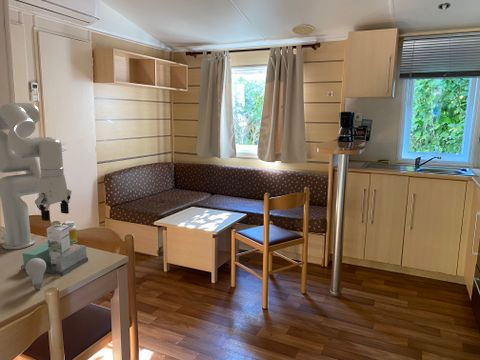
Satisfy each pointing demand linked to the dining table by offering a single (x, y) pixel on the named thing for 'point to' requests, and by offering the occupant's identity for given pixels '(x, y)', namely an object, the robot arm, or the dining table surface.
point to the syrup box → (58, 241)
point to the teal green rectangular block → (37, 254)
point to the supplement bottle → (72, 231)
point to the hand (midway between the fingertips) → (55, 216)
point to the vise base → (54, 268)
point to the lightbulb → (36, 271)
